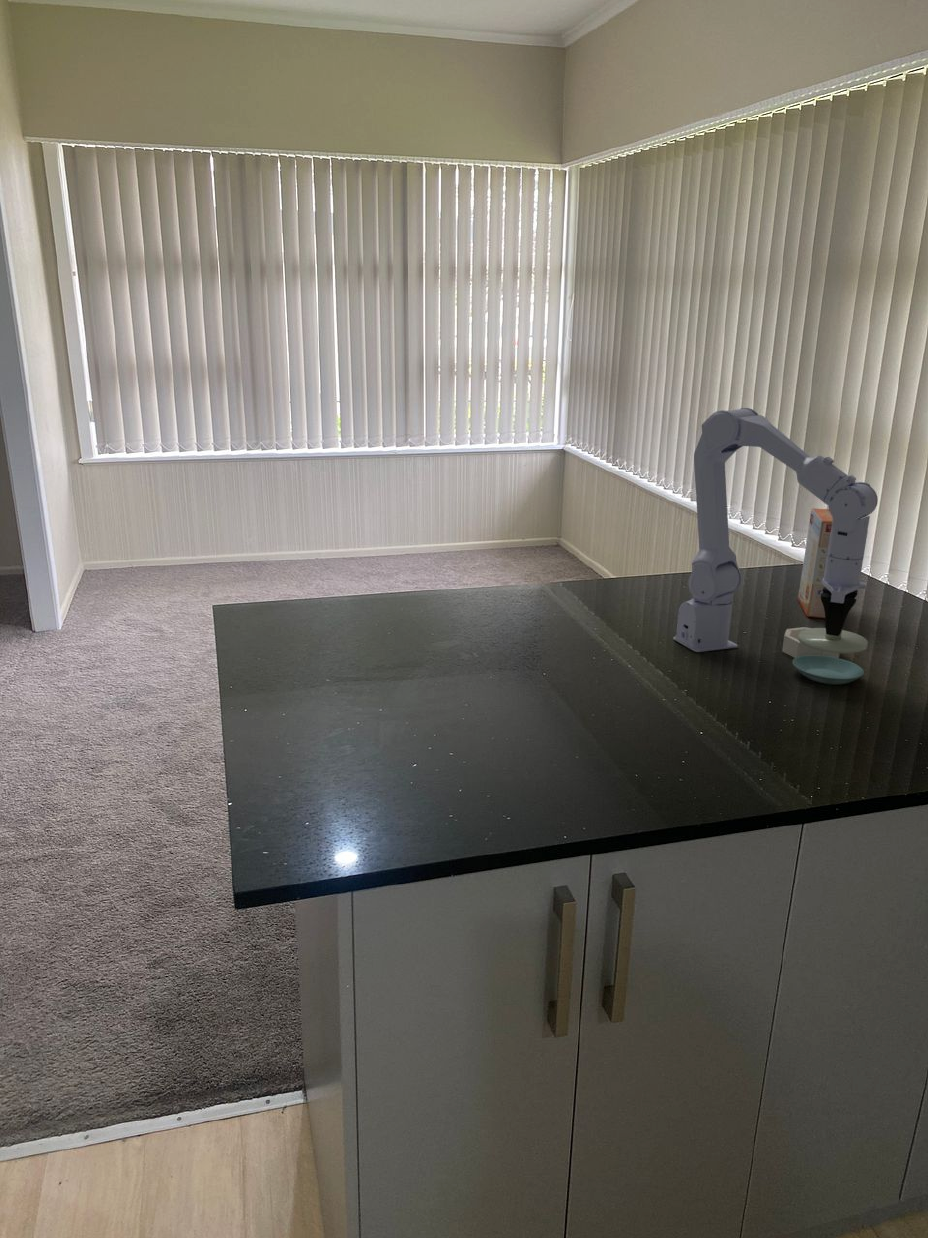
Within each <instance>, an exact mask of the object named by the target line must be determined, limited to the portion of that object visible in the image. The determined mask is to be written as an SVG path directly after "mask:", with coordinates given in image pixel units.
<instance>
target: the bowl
mask: <svg viewBox="0 0 928 1238" xmlns="http://www.w3.org/2000/svg"><path fill="white" fill-rule="evenodd" d="M810 628H811V627H802V626H801V627H793V628H786V630H785V632H784V636H783V642H782V650H781V651H782V653H784V654H787V655H789V656H790V657H792V658H793V659H795V658H797V657H799V656H805V655H822V656H829V657H835V658H839V659H840V654H841V653H832V652H825V651H821V650H816V649H813V648H810V647H808V646H805V645H804V644H802V643H801V642H800V641H799V640H798V637H799V633H800V632H801V631H803V630H805V629H810Z"/></svg>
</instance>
